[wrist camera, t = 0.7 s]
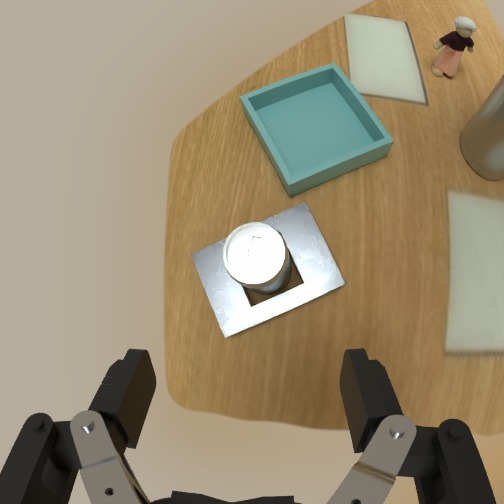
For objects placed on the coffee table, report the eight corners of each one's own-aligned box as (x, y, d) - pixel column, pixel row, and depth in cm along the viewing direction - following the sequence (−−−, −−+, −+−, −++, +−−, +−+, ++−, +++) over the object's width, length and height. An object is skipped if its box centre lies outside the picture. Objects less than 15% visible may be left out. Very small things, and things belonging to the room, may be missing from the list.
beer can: (250, 244, 38) (228, 214, 26) (295, 253, 37) (294, 225, 25) (240, 290, 37) (213, 279, 25) (286, 299, 36) (280, 293, 24)
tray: (333, 80, 41) (334, 62, 37) (386, 156, 37) (393, 141, 34) (244, 113, 41) (239, 96, 37) (289, 197, 38) (288, 185, 34)
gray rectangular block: (304, 208, 38) (304, 201, 35) (341, 285, 35) (345, 283, 33) (197, 258, 38) (191, 254, 36) (229, 335, 36) (224, 337, 34)
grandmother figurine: (435, 82, 38) (460, 27, 26) (421, 65, 39) (442, 10, 27) (466, 77, 38) (493, 28, 26) (453, 60, 39) (476, 11, 26)
